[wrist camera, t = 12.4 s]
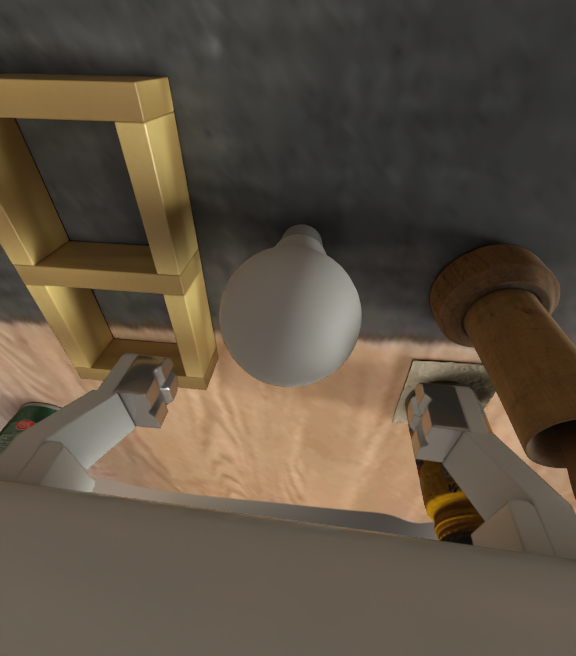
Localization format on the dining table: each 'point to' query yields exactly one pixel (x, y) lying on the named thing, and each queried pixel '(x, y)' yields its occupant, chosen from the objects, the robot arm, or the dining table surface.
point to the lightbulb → (290, 312)
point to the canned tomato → (25, 421)
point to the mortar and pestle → (516, 344)
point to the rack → (104, 258)
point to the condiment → (436, 482)
